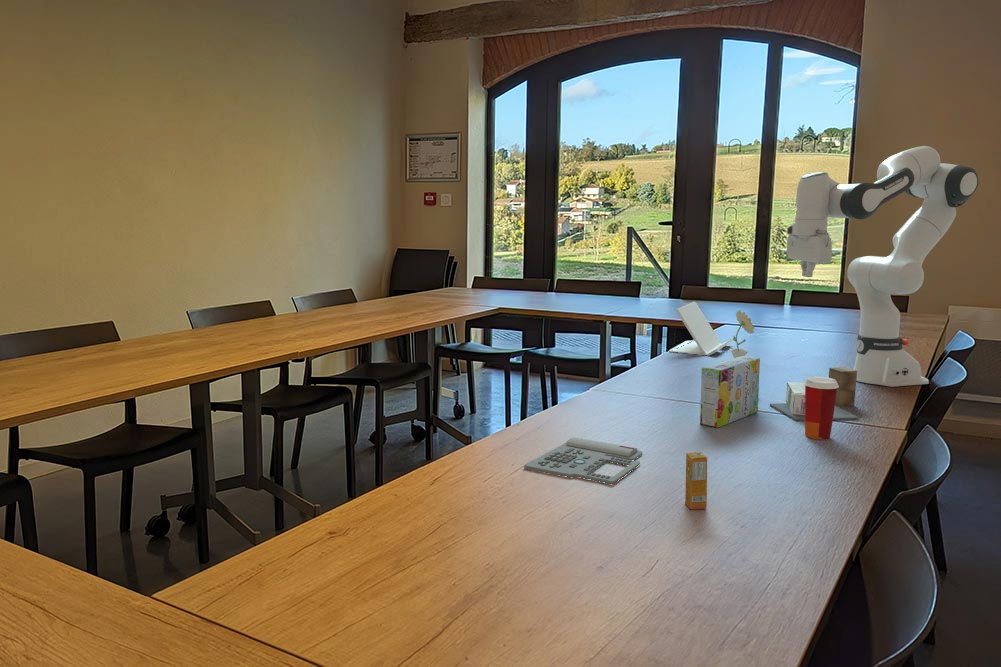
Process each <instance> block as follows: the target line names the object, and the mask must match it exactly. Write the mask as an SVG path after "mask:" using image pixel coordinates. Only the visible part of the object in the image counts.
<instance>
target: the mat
mask: <svg viewBox="0 0 1001 667" xmlns="http://www.w3.org/2000/svg"><path fill="white" fill-rule="evenodd" d="M769 406H770V407H771V406H772V408H773V409H774V408H775V410H776V409H777V410H776V411H778V412H779V411H780V412H779V413H781V412H782V413H781V414H783V415H784V414H785V415H784V416H786V415H787V416H786V417H788V418H789V417H790V419H791V418H792V421H795V422H801V421H803V422H805V415H793V414H792V413H791V411H790V409H789V407H788V405H787V403H786V402H784V403H782V402H781V403H780V402H779V403H778V402H776V403H775V402H774V403H769ZM842 420H843V421H846V420H847V421H849V420H854V421H855V420H859V416H857V415H855V414H853V413H851V412H849V411H847V410H845V409H843V408H842V407H837V406H835V408H834V415H833V421H842Z"/></svg>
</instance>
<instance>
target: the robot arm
mask: <svg viewBox="0 0 1001 667" xmlns="http://www.w3.org/2000/svg"><path fill="white" fill-rule="evenodd" d="M876 179H877V181H875V182H861V183H846V184H845V183H843V184H841V183H839V182H837V181H835V180H834V179H833V178H831V177H830V176H829V173H828V172H825V171H819V172H818V171H817V172H811V173H806V174H804V175H802V176H801V177H800V178H799V181H798V184H797V190H796V197H795V206H796V214H795V216H794V222H793V223H792V224H791V225H789V226H787V227H786V235H788V237H787V238H786V256H787V258H788V259H789V260H793V261H795V260H796V261H799V262H800V268H801V270H802V271H801V276H802V277H804V278H812V277H813V275H814V274H813V273H814V270H815V268H816V266H817V264H830V263H831V262H832V260H833V243H832V241H833V240H832V238H831V236H830V234H829V232H828V220H829V218H833V219H834V218H835V219H836V218H838V219H853V220H866V219H868V218H870V217H872V216H873V215H875V213H876V212H877V211H878V210H879V209H880V207H882V206H883V205H884V204H885V203H887V202H889V201H890V200H892V199H894V198H896V197H898V196H899V195H901V194H903V193H905V194H907V195H909V196H910V197H913V198H917V199H918V198H921V199H923V202H922V204H921V206H920V207H919V208H918V209H917V210H916V211H915V212H914V213H912V215H911V216H910V217H909V218H908V219H907V220H906V221H905V222H904V224H902V226H901V227H900V228H899V229H898V231H897V232H896V233H894V235H893V237H892V244H893V250H892V252H891V253H890V254H889V255H888V256H877V255H866V256H865V255H864V256H860V257H857V258H854V259H853V260H852V261H851V262H850V263H849V265H848V267H847V271H846V277H847V279H848V282H849V283H850V284H851V286H852V287H853V288H854V291H855V292H856V295H857V298H858V299H857V300H858V302H859V308H860V311H859V312H860V315H859V316H860V320H859V322H860V323H859V333H858V335H857V339H856V357H855V360H854V366H853V368H852V369H853V370H857V379H856V382H860V383H863V384H864V383H865V384H872V385H879V386H886V387H891V388H892V387H904V386H905V387H907V386H917V385H928V384H930V382H929V381H930V380H929V379H928V378H927V377H924V376H923V375H922V368H921V363H920V362H919V361H918V360H917V359H915V358H914V357H913V356H912V355H911V354H910V353H908V352H907V351H906V350H904V346H906V347H909V346H910V344H911V341H910V339H907V338H903V339H902V338H901V337H900V336H899V334H900V333H899V332H900V324H901V323H900V322H901V312H900V310H899V309H898V308H897V306H896V305H895V304H894V302H893V300H892V297H891V296H892V295H900V296H901V295H907V294H913V293H916V292H917V291H918V290H919V289H920V288H921V287H922V285H923V284H924V280H925V273H924V269H923V263H924V261H925V259H926V257H927V255H929V253H930V252H931V251H932V249H934V247H935V246H936V245H937V243H939V241H940V240H941V239H942V238H943V237H944V236H945V234H946V233H947V231H948V230H949V229H950V227H951V225H952V224H953V222H954V220H955V219H956V217H957V209H956V208H959V207H961V206H962V205H964V204H965V203H966V202H967V201H968V200H969V199H970V198H971V197H972V196H973V194H975V191H977V189H978V185H979V176H978V173H977V171H976V170H975V169H974V168H973V167H970V166H967V165H963V164H952V163H945V162H942V163H941V155H940V154H939V152H938V151H937V149H936V148H934V147H931V146H928V145H921V146H916V147H912V148H909V149H906V150H902V151H900V152H898V153H896V154H893V155H891V156H888V157H887V158H886V159H884V161H882V162H881V163H880V164H879V166H878V168H877V172H876Z"/></svg>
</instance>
